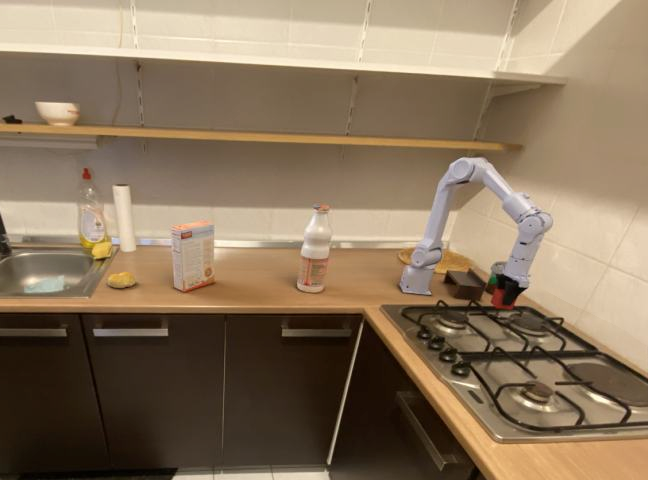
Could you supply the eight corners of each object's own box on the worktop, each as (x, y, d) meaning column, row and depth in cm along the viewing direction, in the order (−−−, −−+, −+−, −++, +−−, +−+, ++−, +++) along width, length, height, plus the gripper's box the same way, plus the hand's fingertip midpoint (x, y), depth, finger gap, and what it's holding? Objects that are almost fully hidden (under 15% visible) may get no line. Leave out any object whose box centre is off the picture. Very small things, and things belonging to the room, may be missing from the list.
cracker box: (203, 278, 140) (203, 219, 130) (214, 283, 136) (215, 223, 126) (172, 287, 131) (169, 225, 121) (183, 292, 128) (181, 229, 117)
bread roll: (105, 282, 133) (103, 271, 131) (130, 278, 137) (129, 268, 135) (112, 290, 127) (110, 279, 125) (138, 286, 131) (137, 275, 129)
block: (495, 308, 114) (501, 294, 112) (490, 302, 118) (495, 288, 116) (512, 309, 114) (518, 295, 111) (505, 303, 117) (511, 290, 115)
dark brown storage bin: (455, 298, 133) (461, 280, 130) (442, 282, 146) (448, 266, 143) (480, 300, 132) (487, 283, 128) (465, 284, 145) (471, 268, 142)
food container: (485, 284, 147) (495, 258, 142) (504, 288, 143) (514, 262, 138) (479, 292, 138) (489, 266, 133) (498, 297, 135) (509, 270, 130)
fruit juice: (291, 288, 135) (301, 205, 121) (304, 281, 141) (314, 202, 127) (316, 295, 130) (329, 209, 116) (327, 287, 137) (341, 205, 123)
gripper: (550, 266, 102) (528, 313, 108) (525, 251, 114) (507, 294, 121) (521, 264, 103) (501, 310, 109) (499, 249, 115) (483, 291, 122)
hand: (502, 301), depth 115 cm, fingers closed on block, 4 cm apart
